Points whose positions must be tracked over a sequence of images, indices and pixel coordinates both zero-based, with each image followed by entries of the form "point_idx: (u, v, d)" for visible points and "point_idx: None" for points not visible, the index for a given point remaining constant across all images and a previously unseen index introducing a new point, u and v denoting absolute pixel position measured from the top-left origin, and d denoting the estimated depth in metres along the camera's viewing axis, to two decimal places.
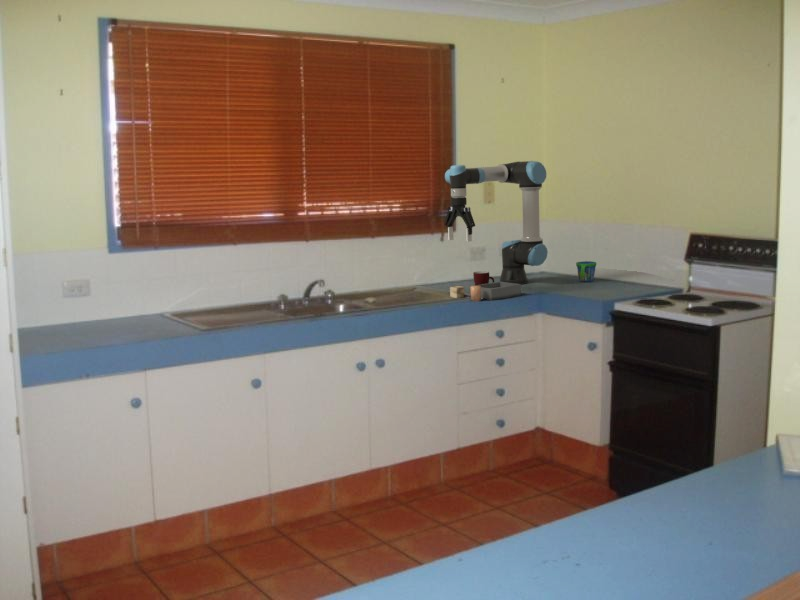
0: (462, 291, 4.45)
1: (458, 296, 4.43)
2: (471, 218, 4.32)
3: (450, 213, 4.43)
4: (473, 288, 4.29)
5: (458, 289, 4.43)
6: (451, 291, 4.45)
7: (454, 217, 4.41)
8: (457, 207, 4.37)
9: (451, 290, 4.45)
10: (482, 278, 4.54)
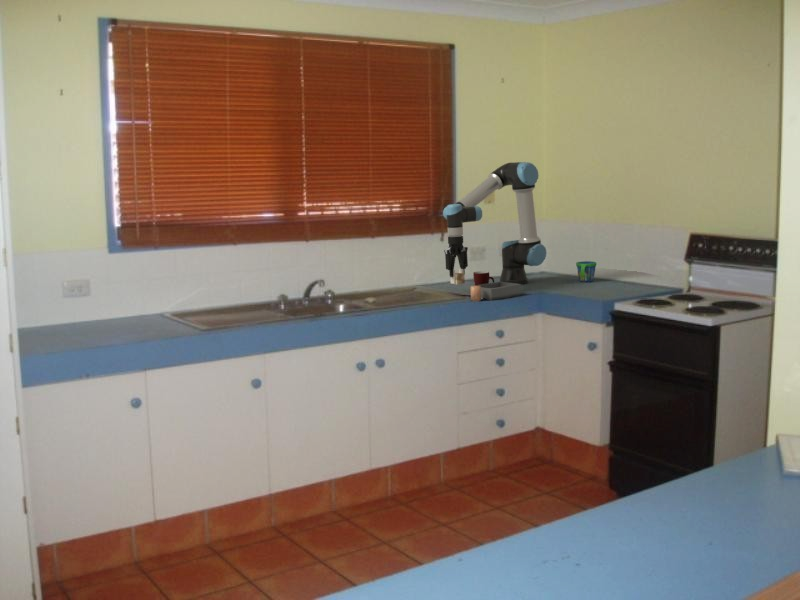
0: (462, 277, 4.44)
1: (458, 282, 4.42)
2: (447, 261, 4.40)
3: (463, 253, 4.46)
4: (473, 288, 4.29)
5: (458, 275, 4.42)
6: None
7: (458, 256, 4.44)
8: None
9: None
10: (482, 278, 4.54)
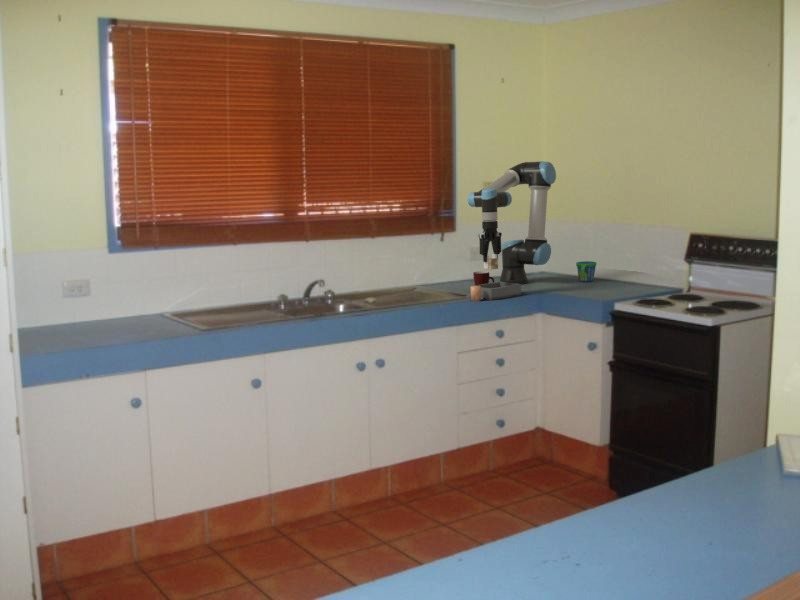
0: (496, 263, 4.41)
1: (492, 268, 4.40)
2: (481, 246, 4.37)
3: (497, 238, 4.44)
4: (473, 288, 4.29)
5: (492, 260, 4.40)
6: None
7: (492, 242, 4.42)
8: None
9: None
10: (482, 278, 4.54)
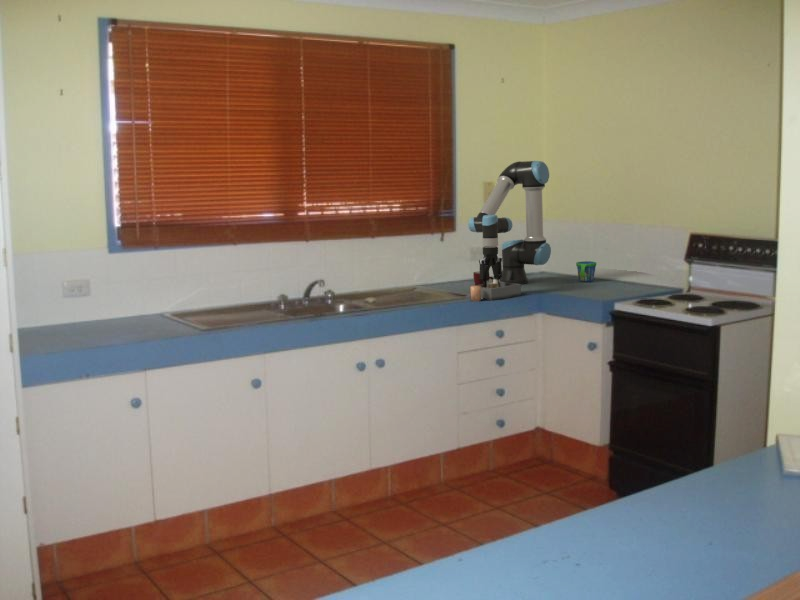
0: None
1: None
2: (481, 272, 4.39)
3: (497, 264, 4.46)
4: (473, 288, 4.29)
5: (492, 286, 4.42)
6: None
7: (493, 267, 4.44)
8: None
9: None
10: None
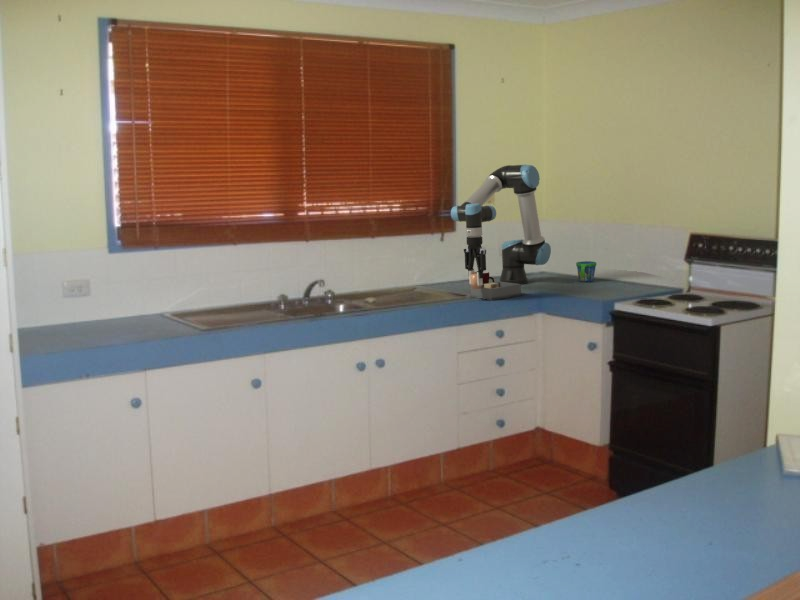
0: None
1: None
2: (484, 262, 4.25)
3: (467, 254, 4.33)
4: (473, 276, 4.29)
5: (492, 286, 4.42)
6: None
7: (472, 258, 4.31)
8: (473, 246, 4.28)
9: (485, 287, 4.44)
10: None
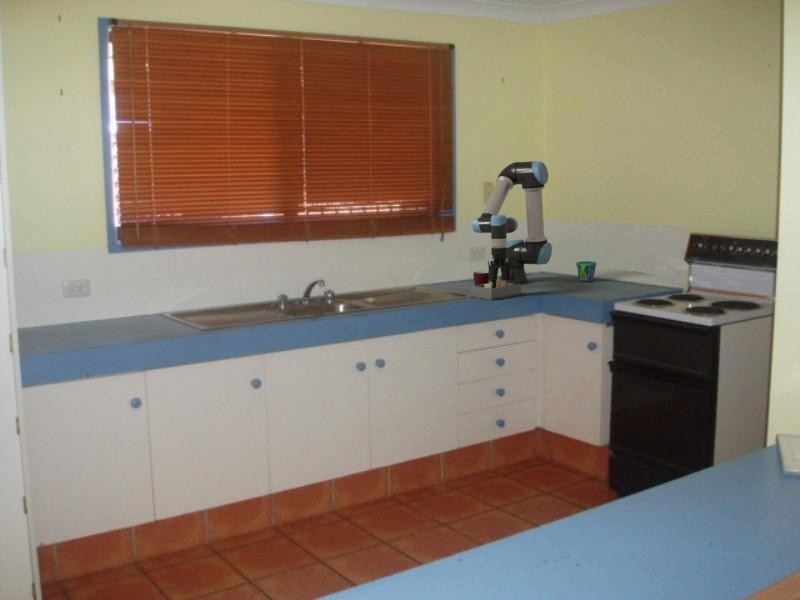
0: None
1: None
2: (490, 273, 4.35)
3: (506, 264, 4.41)
4: None
5: None
6: None
7: (501, 268, 4.39)
8: None
9: (485, 287, 4.44)
10: (482, 278, 4.54)
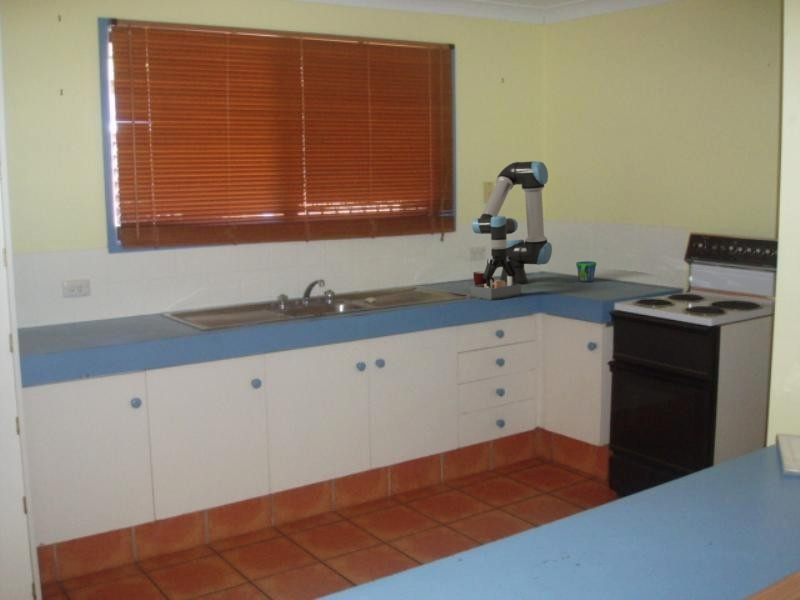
0: None
1: None
2: (487, 270, 4.33)
3: (508, 263, 4.42)
4: None
5: (492, 286, 4.42)
6: None
7: (504, 267, 4.41)
8: None
9: (485, 287, 4.44)
10: (482, 278, 4.54)
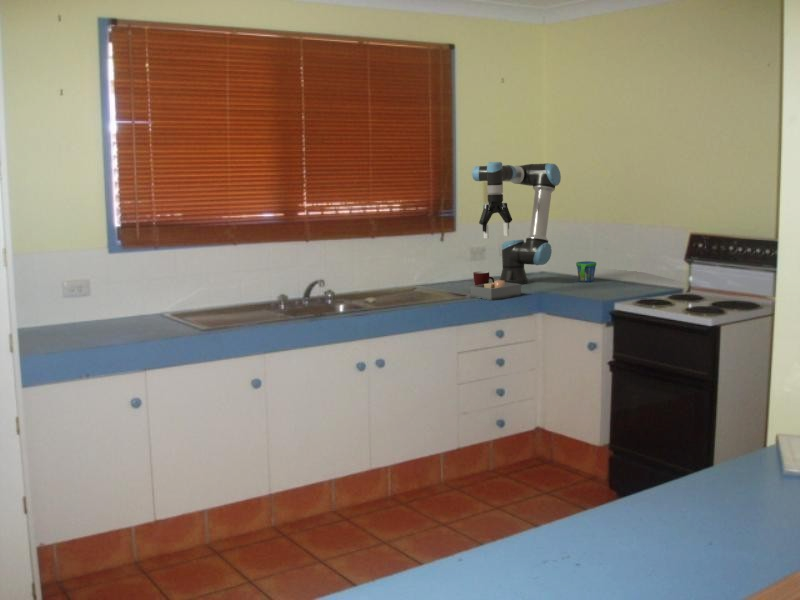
0: None
1: None
2: (483, 215, 4.36)
3: (504, 209, 4.45)
4: None
5: (492, 286, 4.42)
6: None
7: (500, 213, 4.43)
8: None
9: (485, 287, 4.44)
10: (482, 278, 4.54)
